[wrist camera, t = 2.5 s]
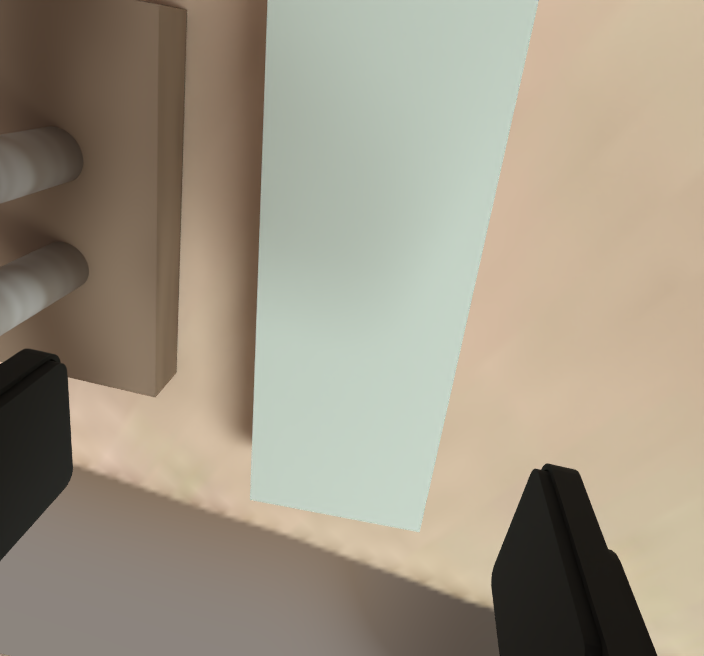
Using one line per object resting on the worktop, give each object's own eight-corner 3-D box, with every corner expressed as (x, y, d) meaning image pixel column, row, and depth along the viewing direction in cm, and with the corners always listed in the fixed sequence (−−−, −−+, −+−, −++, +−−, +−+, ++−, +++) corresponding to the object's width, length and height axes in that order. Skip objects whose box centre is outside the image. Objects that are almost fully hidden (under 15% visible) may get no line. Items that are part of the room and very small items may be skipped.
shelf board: (302, -71, 17) (271, -102, 14) (533, -48, 16) (555, -73, 13) (273, 446, 26) (250, 499, 23) (422, 474, 25) (419, 532, 22)
